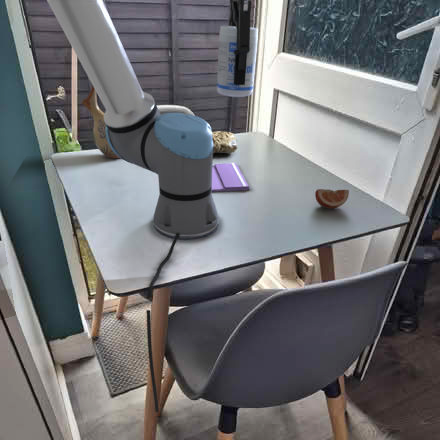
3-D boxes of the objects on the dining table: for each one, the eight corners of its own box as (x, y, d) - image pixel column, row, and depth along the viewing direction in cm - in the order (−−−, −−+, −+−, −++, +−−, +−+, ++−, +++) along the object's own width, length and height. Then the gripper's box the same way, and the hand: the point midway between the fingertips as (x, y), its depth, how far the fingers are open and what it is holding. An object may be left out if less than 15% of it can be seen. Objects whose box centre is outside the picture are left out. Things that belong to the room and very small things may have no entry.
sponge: (228, 149, 138) (173, 139, 132) (235, 128, 133) (178, 117, 127) (235, 169, 130) (177, 160, 124) (242, 148, 124) (181, 136, 118)
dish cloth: (249, 190, 109) (249, 186, 108) (203, 192, 107) (203, 187, 106) (236, 166, 122) (236, 162, 122) (195, 167, 120) (195, 164, 120)
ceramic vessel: (143, 152, 129) (135, 67, 114) (138, 162, 122) (129, 72, 107) (94, 151, 129) (79, 65, 114) (86, 160, 122) (70, 70, 107)
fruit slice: (340, 202, 104) (345, 184, 101) (349, 213, 99) (353, 195, 96) (310, 202, 104) (313, 184, 101) (316, 213, 98) (320, 195, 95)
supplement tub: (228, 99, 98) (232, 28, 89) (210, 91, 104) (211, 25, 95) (259, 96, 102) (266, 29, 93) (240, 89, 108) (244, 25, 99)
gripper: (270, -32, 79) (259, 89, 93) (247, -29, 97) (241, 73, 110) (234, -34, 78) (228, 89, 92) (218, -30, 95) (215, 73, 109)
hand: (235, 80), depth 101 cm, fingers closed on supplement tub, 10 cm apart
